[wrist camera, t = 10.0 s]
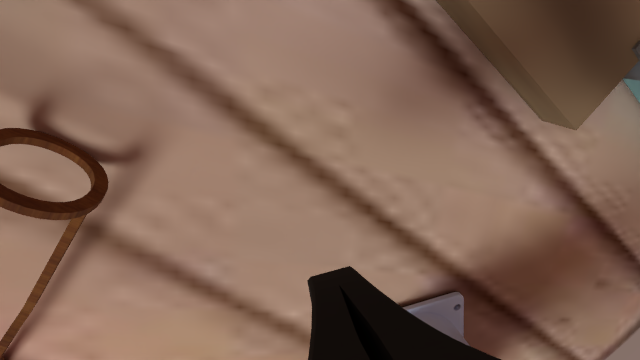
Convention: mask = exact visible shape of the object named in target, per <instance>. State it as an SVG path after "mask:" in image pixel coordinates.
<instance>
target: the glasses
mask: <svg viewBox="0 0 640 360" xmlns="http://www.w3.org/2000/svg"><path fill="white" fill-rule="evenodd" d="M9 144H28V145H34V146H38V147H42V148H45V149H49V150H52V151H54V152H56V153H59V154H61V155H63V156H65V157H67V158H69V159H70V160H72V161H73V162H75V163H76V164H78V165H79V166H80V167H81V168H83V169H84V171H85V172H86V173H87V174H88V176H89V178H90V181H91V190H90V192H89V193H88V194H87V195H85V196H84V197H82V198H80V199H77V200H75V201H70V202H48V201H42V200H38V199H34V198H30V197H27V196H24V195H22V194H19V193H17V192H14V191H12V190H10V189H8V188H6V187H5V186H3V185H1V184H0V207H2V208H5V209H7V210H10V211H13V212H16V213H19V214H22V215H26V216H30V217H34V218H39V219H48V220H68V219H71V221H70V223H69V225H68V226H67V228H66V230H65V232H64V234H63V236H62V237H61V239H60V241H59V243H58V245H57V246H56V248H55V250H54V252H53V254H52V256H51V257H50V259H49V261H48V263H47V265H46V267H45V268H44V270H43V272H42V274H41V276H40V278H39V279H38V281H37V283H36V285H35V287H34V288H33V290H32V292H31V294H30V296H29V298H28V299H27V301H26V303H25V305H24V307H23V309H22V310H21V312H20V313H19V315H18V316H17V317H16V319H15V320H14V322H13V323H12V325H11V326H10V328H9V329H8V331H7V332H6V334H5V335H4V337H3V338H2V340H1V341H0V360H5V358H4V357H3V354H4V352H5V351H6V349H7V348H8V346H9V345H10V343H11V341H12V340H13V338H14V337H15V335H16V333H17V332H18V330H19V329H20V327H21V326H22V325H23V323H24V322H25V320H26V319H27V317H28V316H29V314H30V313H31V311H32V310H33V308H34V307H35V305H36V303H37V302H38V300H39V298H40V296H41V295H42V293H43V291H44V289H45V288H46V286H47V284H48V282H49V280H50V279H51V277H52V275H53V273H54V272H55V270H56V268H57V266H58V265H59V263H60V261H61V259H62V257H63V256H64V254H65V252H66V250H67V249H68V247H69V245H70V243H71V241H72V240H73V238H74V236H75V234H76V233H77V231H78V229H79V227H80V225H81V224H82V222H83V220H84V218H85V217H86V215H87V214H88V213H90V212H91V211H92V210H94V209H95V208H96V207H97V206H98V205H99V204H100V203H101V201H102V199H103V198H104V196H105V194H106V192H107V189H108V178H107V174H106V173H105V171H104V169H103V167H102V166H101V165H100V164H99V163H98V162H97V161H96V160H95V159H94V158H93V157H91V156H90V155H89V154H88V153H86V152H84V151H83V150H81V149H80V148H78V147H76V146H74V145H72V144H70V143H68V142H66V141H64V140H62V139H59V138H57V137H54V136H51V135H48V134H45V133H42V132H38V131H34V130H28V129H21V128H4V129H0V146H4V145H9Z"/></svg>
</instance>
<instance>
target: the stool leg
mask: <svg viewBox="0 0 640 360" xmlns="http://www.w3.org/2000/svg"><path fill="white" fill-rule="evenodd" d="M623 80H624V81H625V83H626V84H627V85H628V87H629V88H630V90H631V91H632V93H633V94H634V95H635V97H636V98H637V100H638V101H639V103H640V62H637V63H636V65H635V66H634V67H633V68H632V69H631V70H630V71H629V72H628V73H627V75H626V76H625V77H624V78H623Z"/></svg>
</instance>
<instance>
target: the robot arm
mask: <svg viewBox="0 0 640 360" xmlns="http://www.w3.org/2000/svg"><path fill="white" fill-rule="evenodd" d="M308 286H309V292H310V297H311V302H312V329H311V339H310V349H309V357H308V360H501V359H498V358H496V357H493V356H491V355H489V354H486V353H484V352H482V351H479V350H477V349H475V348H473V347H471V346H470V345H469V344H468V343H467V341H466V340H465V339H464V297H463V296H462V295H461V294H460V293H459V292H453V293H449V294H446V295H443V296H439V297H436V298H433V299H429V300H426V301H423V302H419V303H416V304H413V305H409V306H406V307H403V308H402V307H401V306H400V305H398V304H397V303H395V302H394V301H393V300H391V299H390V298H389V297H387V296H386V295H385V294H383V293H382V292H381V291H379V290H378V289H377V288H376V287H374V286H373V285H372V284H371V283H370V282H368V281H367V280H366V279H365V278H364V277H362V276H361V275H360V274H359V273H358V272H357V271H356V270H354V269H353V268H352V267H350V266H349V267H345V268H341V269H338V270H334V271H330V272H327V273H323V274H319V275H316V276H312V277H310V278H309V280H308ZM455 305H456V306H455ZM454 306H455V307H454Z"/></svg>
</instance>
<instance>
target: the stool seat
mask: <svg viewBox="0 0 640 360" xmlns="http://www.w3.org/2000/svg"><path fill="white" fill-rule="evenodd" d="M436 1H437V2H438V3H439V4H440V5H441V6H442V8H443V9H444V10H445V11H446V12H447V13H448V14H449V15H450V17H451V18H452V19H453V20H454V21H455V22H456V23H457V25H458V26H459V27H460V28H461V29H462V30H463V31H464V33H465V34H466V35H467V36H468V37H469V38H470V39H471V40H472V42H473V43H474V44H475V45H476V46H477V47H478V48H479V50H480V51H481V52H482V53H483V54H484V55H485V56H486V58H487V59H488V60H489V61H490V62H491V63H492V64H493V65H494V67H495V68H496V69H497V70H498V71H499V72H500V73H501V75H502V76H503V77H504V78H505V79H506V80H507V81H508V83H509V84H510V85H511V86H512V87H513V88H514V89H515V90H516V92H517V93H518V94H519V95H520V96H521V97H522V98H523V100H524V101H525V102H526V103H527V104H528V105H529V106H530V108H531V109H532V110H533V111H534V112H535V113H536V114H537V115H538V117H539V118H540V119H541V120H542V121H545V122H549V123H552V124H556V125H559V126H563V127H566V128H570V129H573V130H577V129H578V128H579V127H580V126H581V125H582V123H583V122H584V121H585V120H586V119H587V118H588V117H589V116H590V115H591V113H592V112H593V111H594V110H595V109H596V108H597V107H598V106H599V105H600V103H601V102H602V101H603V100H604V99H605V98H606V97H607V96H608V95H609V93H610V92H611V91H612V90H613V89H614V88H615V87H616V86H617V85H618V83H619V82H620V81H621V80H622V79H623V78H624V77H625V76H626V75H627V73H628V72H629V71H630V70H631V69H632V68H633V67H634V66H635V65H636V63H637V62H640V0H436Z"/></svg>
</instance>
